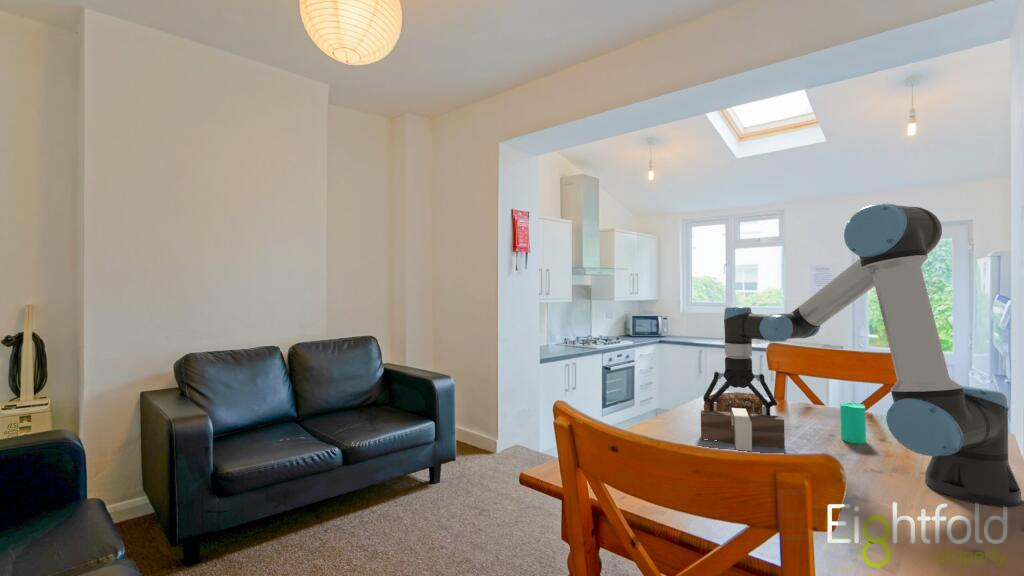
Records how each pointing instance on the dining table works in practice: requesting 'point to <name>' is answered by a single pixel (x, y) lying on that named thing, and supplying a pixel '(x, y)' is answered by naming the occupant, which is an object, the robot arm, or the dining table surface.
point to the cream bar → (742, 429)
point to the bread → (737, 403)
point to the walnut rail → (763, 428)
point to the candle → (853, 422)
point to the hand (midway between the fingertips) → (739, 426)
